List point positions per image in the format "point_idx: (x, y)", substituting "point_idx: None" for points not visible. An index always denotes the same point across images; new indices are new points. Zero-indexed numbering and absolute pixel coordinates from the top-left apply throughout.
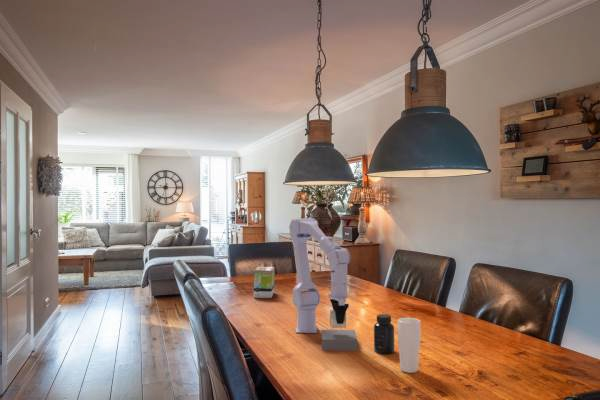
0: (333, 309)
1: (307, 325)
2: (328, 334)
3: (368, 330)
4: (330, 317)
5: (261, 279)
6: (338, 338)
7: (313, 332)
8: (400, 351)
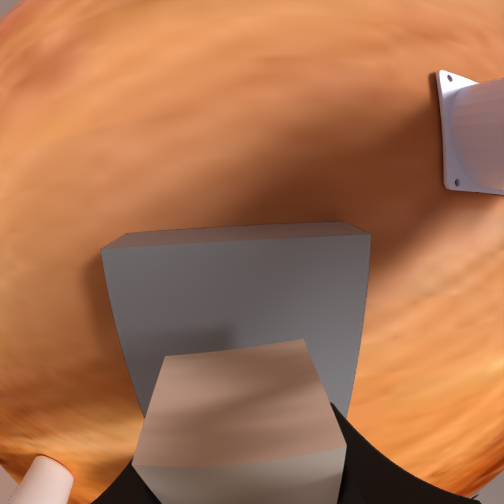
0: (352, 474)
1: (474, 133)
2: (238, 293)
3: (441, 410)
4: (280, 393)
5: None
6: (151, 358)
7: (445, 170)
8: (20, 486)
